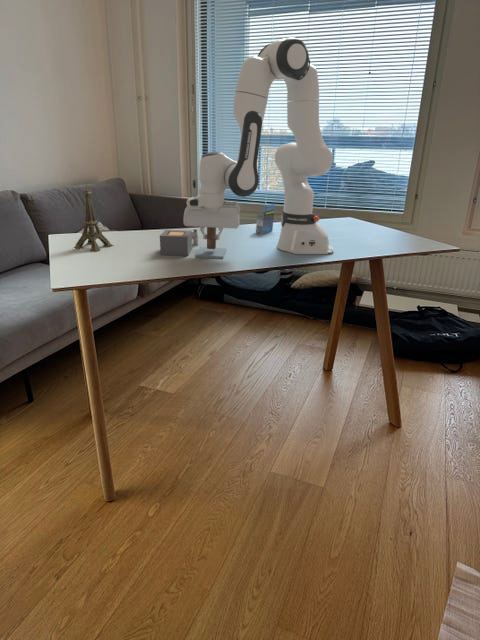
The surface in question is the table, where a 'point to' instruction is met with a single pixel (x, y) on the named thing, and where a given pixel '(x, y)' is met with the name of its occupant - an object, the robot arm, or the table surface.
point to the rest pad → (211, 253)
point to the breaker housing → (176, 243)
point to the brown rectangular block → (211, 238)
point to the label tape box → (265, 220)
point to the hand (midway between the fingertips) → (211, 239)
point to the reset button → (176, 233)
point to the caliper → (195, 237)
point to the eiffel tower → (91, 227)
